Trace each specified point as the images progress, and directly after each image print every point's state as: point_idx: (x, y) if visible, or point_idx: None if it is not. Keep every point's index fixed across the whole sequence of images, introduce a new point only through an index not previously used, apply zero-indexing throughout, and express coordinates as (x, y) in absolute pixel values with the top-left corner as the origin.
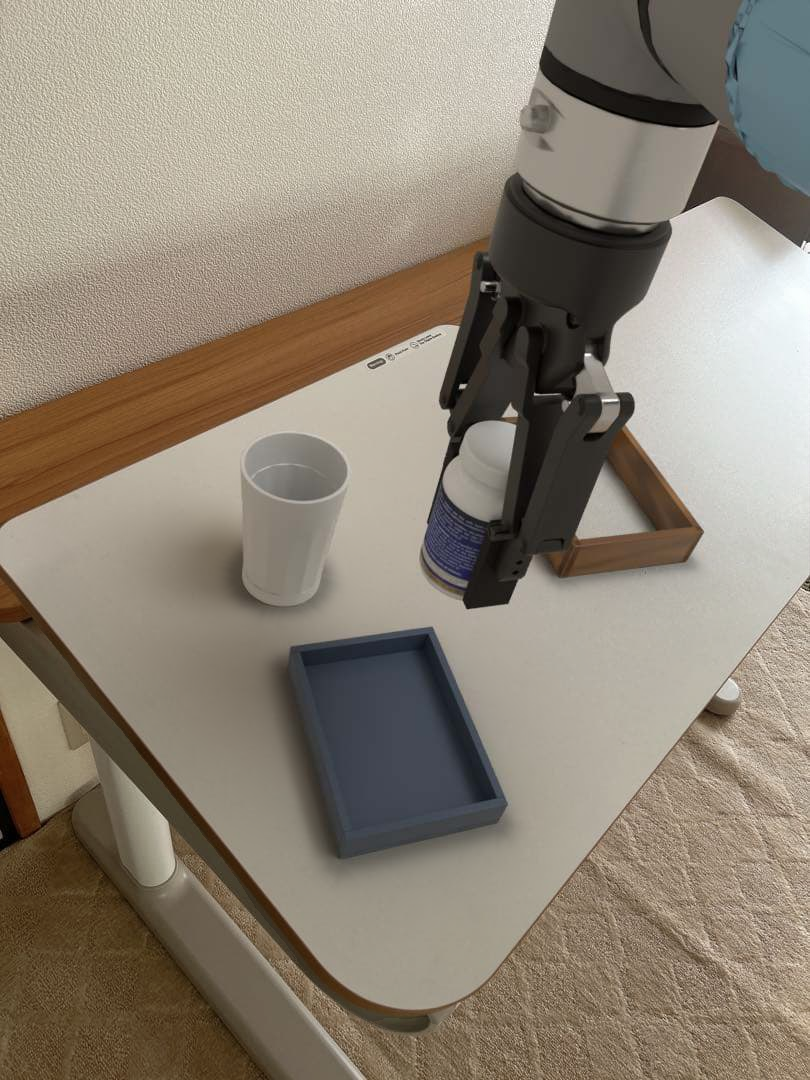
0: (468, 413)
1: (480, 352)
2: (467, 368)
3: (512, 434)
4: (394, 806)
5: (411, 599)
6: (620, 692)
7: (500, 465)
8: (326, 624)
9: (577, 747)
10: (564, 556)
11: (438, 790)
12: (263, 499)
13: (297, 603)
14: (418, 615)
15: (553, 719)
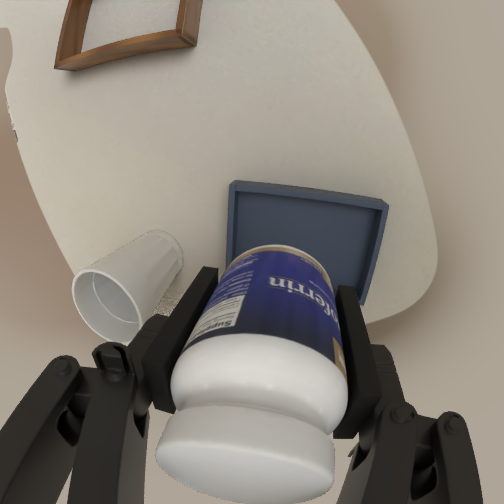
0: (144, 468)
1: (42, 484)
2: (62, 466)
3: (200, 465)
4: (349, 259)
5: (190, 172)
6: (316, 51)
7: (291, 499)
8: (201, 241)
9: (352, 111)
10: (183, 41)
11: (350, 229)
12: None
13: (182, 254)
14: (205, 173)
15: (325, 114)
